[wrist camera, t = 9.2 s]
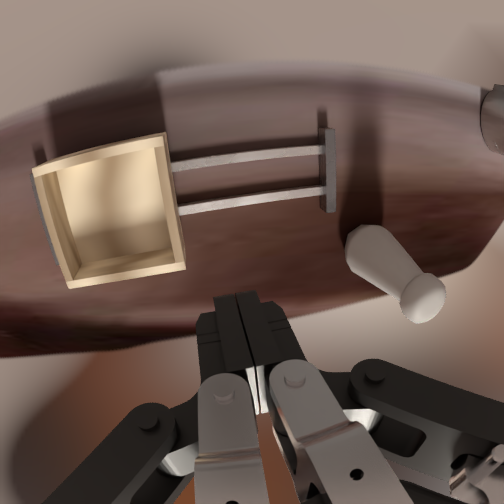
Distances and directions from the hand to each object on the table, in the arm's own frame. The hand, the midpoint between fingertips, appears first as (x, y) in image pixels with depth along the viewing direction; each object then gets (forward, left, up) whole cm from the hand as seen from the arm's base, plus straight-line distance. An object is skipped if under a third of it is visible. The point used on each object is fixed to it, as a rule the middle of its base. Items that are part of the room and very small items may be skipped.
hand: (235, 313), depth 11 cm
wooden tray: (+3, -7, -19) cm, 20 cm away
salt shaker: (+1, +18, -19) cm, 26 cm away
